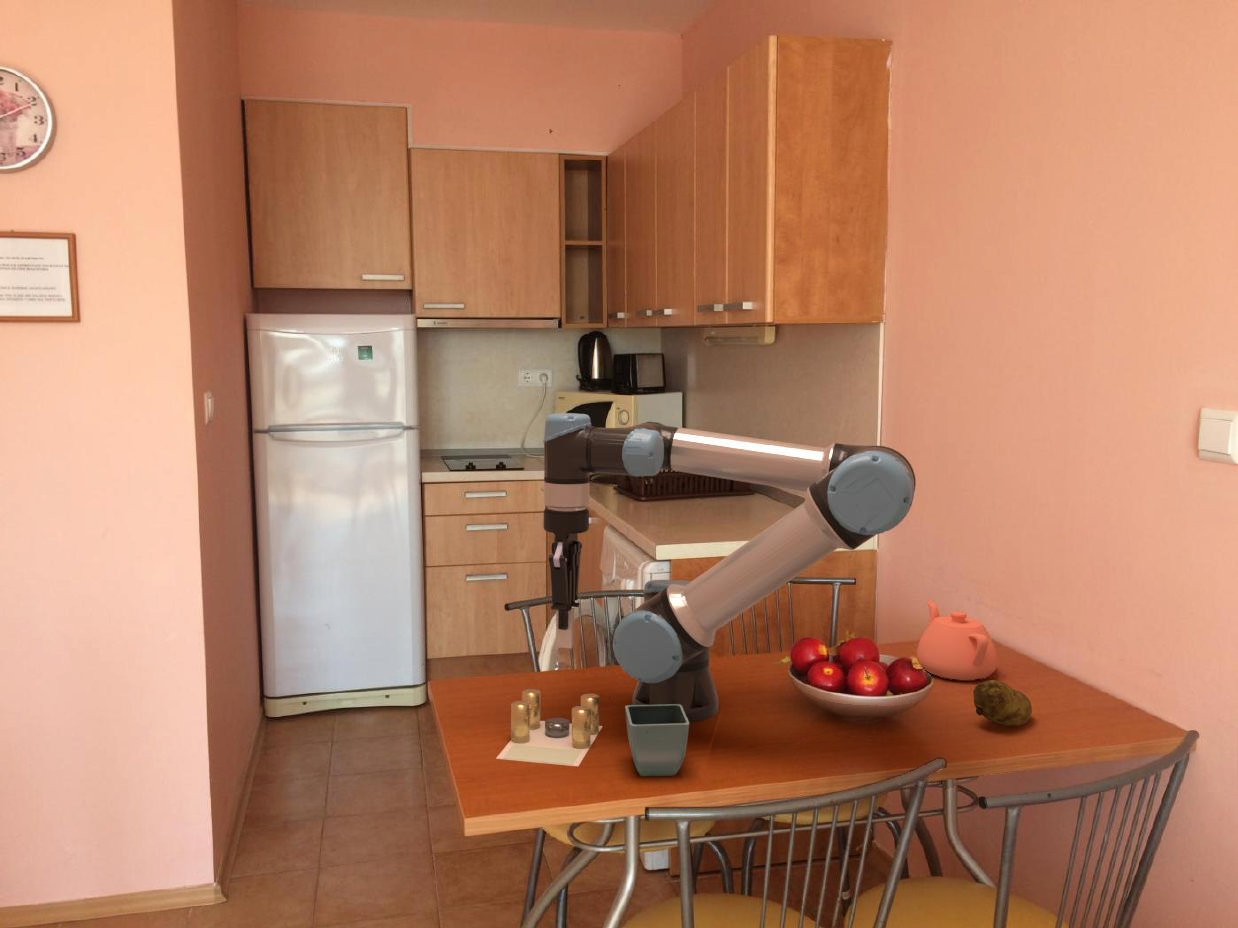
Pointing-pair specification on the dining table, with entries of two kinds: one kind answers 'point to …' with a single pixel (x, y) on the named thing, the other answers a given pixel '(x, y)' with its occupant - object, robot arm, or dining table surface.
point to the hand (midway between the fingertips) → (564, 646)
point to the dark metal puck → (557, 727)
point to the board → (546, 749)
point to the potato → (1001, 703)
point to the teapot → (956, 646)
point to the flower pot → (657, 738)
